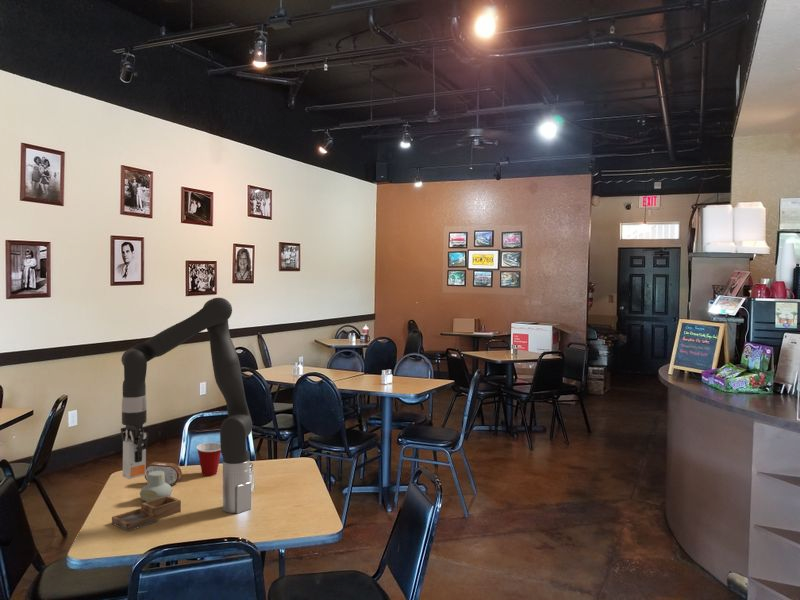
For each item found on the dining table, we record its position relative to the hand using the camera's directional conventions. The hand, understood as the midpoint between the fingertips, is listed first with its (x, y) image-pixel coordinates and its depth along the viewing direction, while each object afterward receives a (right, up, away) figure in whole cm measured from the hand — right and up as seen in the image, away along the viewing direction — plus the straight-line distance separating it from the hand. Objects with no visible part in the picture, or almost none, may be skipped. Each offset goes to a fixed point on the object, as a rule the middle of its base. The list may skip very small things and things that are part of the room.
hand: (134, 460), depth 199 cm
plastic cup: (+9, -20, +52) cm, 56 cm away
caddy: (+3, -21, +5) cm, 22 cm away
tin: (-6, -20, +39) cm, 44 cm away
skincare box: (0, -5, 0) cm, 5 cm away
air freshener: (-2, -21, +22) cm, 30 cm away
